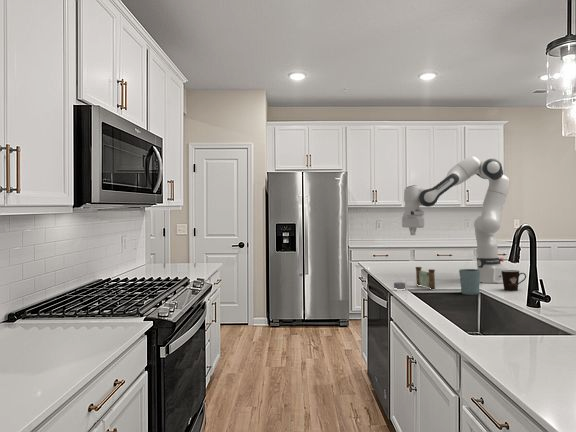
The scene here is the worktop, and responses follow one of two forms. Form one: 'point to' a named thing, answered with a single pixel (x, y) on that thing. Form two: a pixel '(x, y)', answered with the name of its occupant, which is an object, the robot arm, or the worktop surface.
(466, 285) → the teal cup
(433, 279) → the post
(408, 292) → the worktop surface
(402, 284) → the rubber block
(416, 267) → the hinge post
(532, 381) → the worktop surface
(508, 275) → the coffee mug
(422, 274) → the block
